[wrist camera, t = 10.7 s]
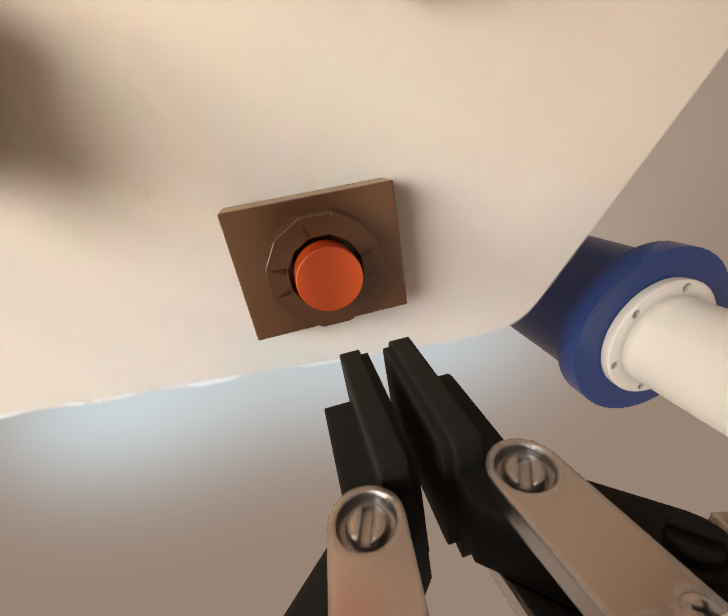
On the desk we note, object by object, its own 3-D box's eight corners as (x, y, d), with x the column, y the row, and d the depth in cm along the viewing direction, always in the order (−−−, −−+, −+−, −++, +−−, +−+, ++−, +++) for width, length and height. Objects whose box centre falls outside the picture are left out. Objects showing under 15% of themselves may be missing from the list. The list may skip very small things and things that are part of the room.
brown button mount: (382, 177, 23) (403, 181, 19) (397, 292, 26) (417, 314, 23) (221, 208, 21) (211, 219, 18) (259, 326, 25) (257, 355, 21)
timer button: (351, 233, 20) (357, 240, 18) (361, 292, 22) (368, 302, 20) (286, 247, 19) (288, 255, 18) (301, 306, 21) (304, 318, 19)
